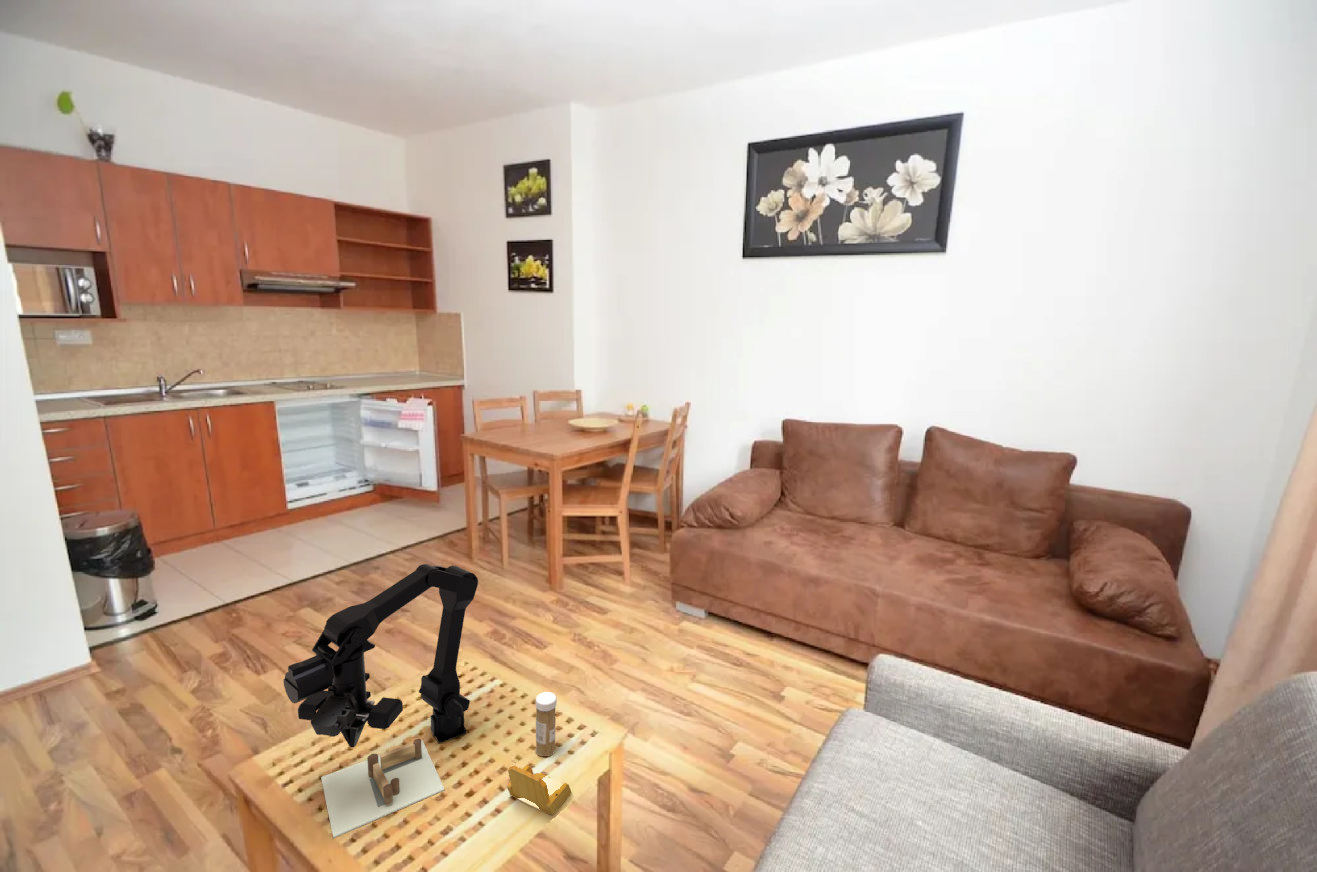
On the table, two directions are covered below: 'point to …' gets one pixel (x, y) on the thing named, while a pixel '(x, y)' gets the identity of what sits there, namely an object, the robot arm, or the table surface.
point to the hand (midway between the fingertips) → (353, 745)
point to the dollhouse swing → (536, 789)
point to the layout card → (376, 791)
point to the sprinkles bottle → (545, 723)
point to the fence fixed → (395, 760)
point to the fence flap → (383, 784)
